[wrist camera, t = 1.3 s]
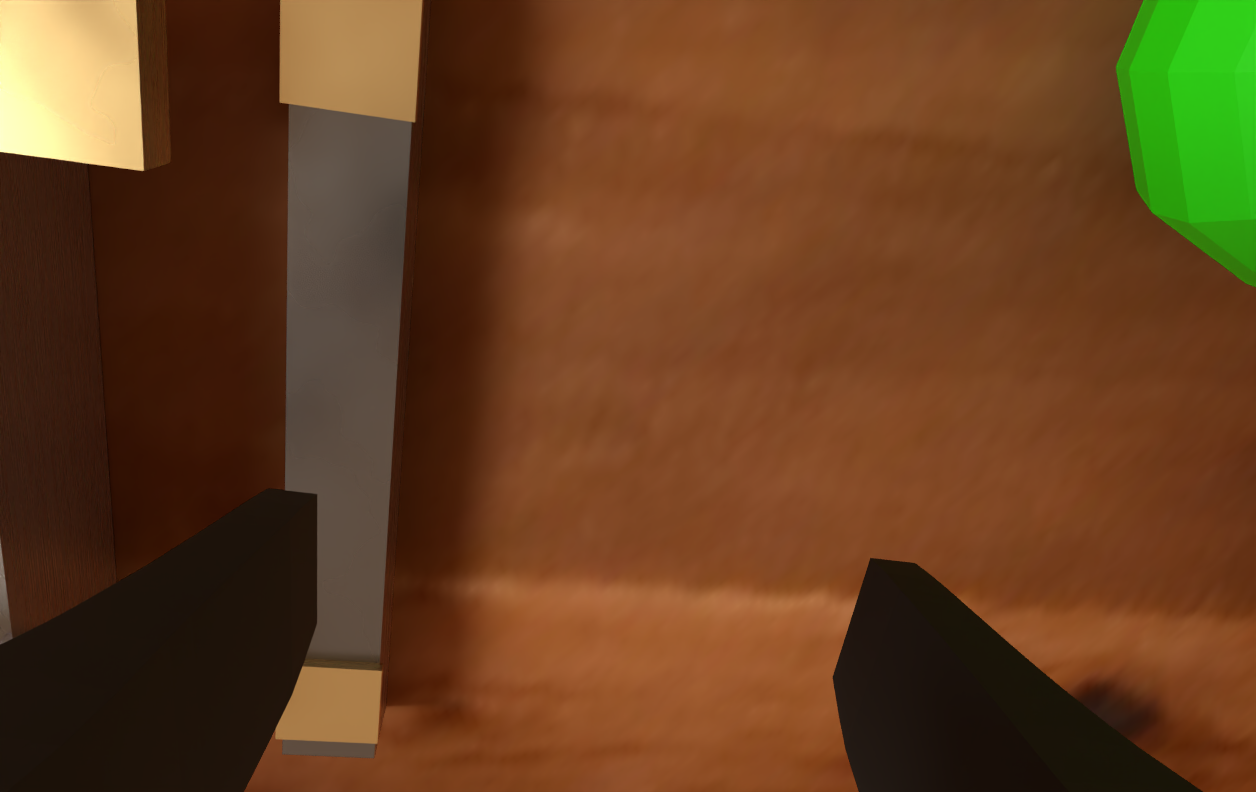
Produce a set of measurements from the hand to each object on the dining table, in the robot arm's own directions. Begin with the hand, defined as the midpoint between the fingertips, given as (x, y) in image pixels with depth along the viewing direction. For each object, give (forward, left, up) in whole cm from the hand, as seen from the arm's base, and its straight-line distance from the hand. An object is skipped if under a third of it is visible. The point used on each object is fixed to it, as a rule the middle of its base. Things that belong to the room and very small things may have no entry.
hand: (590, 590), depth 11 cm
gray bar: (-2, +5, -12) cm, 13 cm away
